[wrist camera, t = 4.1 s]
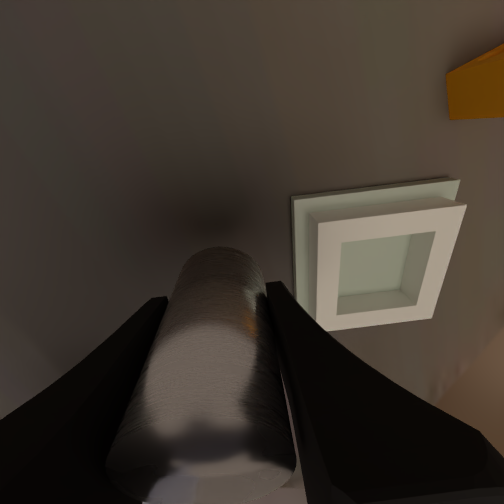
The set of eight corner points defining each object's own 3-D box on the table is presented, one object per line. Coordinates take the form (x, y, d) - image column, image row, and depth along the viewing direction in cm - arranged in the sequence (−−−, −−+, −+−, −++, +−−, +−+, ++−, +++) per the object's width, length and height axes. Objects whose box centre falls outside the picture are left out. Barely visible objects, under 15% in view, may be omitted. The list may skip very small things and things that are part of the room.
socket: (294, 316, 21) (303, 343, 19) (291, 196, 16) (301, 209, 14) (415, 301, 21) (440, 326, 19) (448, 177, 16) (489, 186, 14)
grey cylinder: (190, 321, 12) (143, 517, 6) (168, 253, 10) (68, 434, 4) (267, 311, 12) (298, 497, 6) (259, 241, 10) (292, 404, 4)
